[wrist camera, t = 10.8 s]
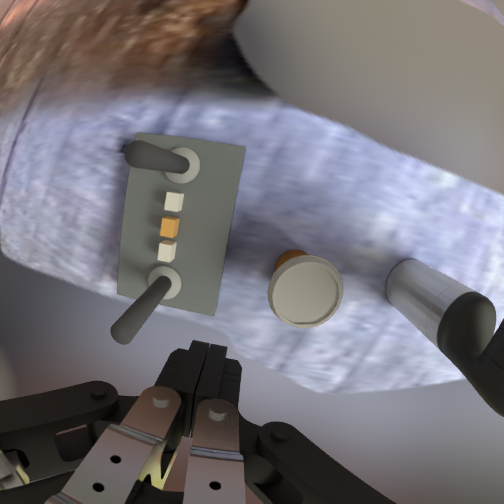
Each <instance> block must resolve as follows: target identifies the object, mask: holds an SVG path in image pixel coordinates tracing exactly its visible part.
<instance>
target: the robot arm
mask: <svg viewBox="0 0 504 504" xmlns="http://www.w3.org/2000/svg"><path fill="white" fill-rule="evenodd" d="M386 295H387V298H388V300H389V302H390V303H391V304H392V305H393V306H394V307H395V308H396V309H397V310H398V311H400V313H402V314H403V315H404V316H405V317H406V318H407V319H408V320H409V321H410V322H411V323H412V324H413V325H414V326H415V327H416V328H417V329H418V330H420V331H421V332H422V333H423V334H424V335H425V336H426V337H427V338H428V339H429V340H430V341H431V342H432V343H433V344H434V345H435V346H436V347H437V348H438V349H439V350H440V351H441V352H442V353H443V354H444V355H445V356H446V357H447V358H448V359H449V360H450V361H451V362H452V363H453V364H454V365H455V366H456V367H457V368H458V369H459V370H460V371H461V372H462V374H463V375H464V376H465V377H466V378H467V379H468V381H469V382H470V383H471V384H472V386H473V387H474V388H475V390H476V391H477V392H478V393H479V395H480V396H481V397H482V398H483V399H484V400H485V402H486V403H487V404H488V405H489V406H490V407H491V408H492V409H493V410H494V411H495V412H497V413H498V414H499V415H501V416H503V417H504V319H503V321H502V322H501V324H500V326H499V328H498V329H497V331H496V332H495V334H494V330H495V325H496V311H495V307H494V305H493V303H492V302H491V301H490V300H489V299H488V298H487V297H485V296H483V295H482V294H480V293H478V292H476V291H475V290H473V289H471V288H469V287H467V286H465V285H463V284H462V283H460V282H458V281H456V280H454V279H452V278H451V277H449V276H447V275H445V274H443V273H441V272H439V271H437V270H436V269H434V268H432V267H430V266H428V265H426V264H424V263H422V262H420V261H418V260H415V259H408V260H405V261H403V262H401V263H399V264H398V265H397V266H395V268H394V269H393V270H392V271H391V273H390V275H389V277H388V279H387V283H386ZM493 334H494V335H493ZM209 347H210V348H209ZM226 353H227V347H226V346H220V345H215V344H211V345H210V343H205V342H201V341H196V340H193V341H192V343H191V345H190V348H189V350H185V349H180V348H178V349H177V350H175V351H174V352H172V353H171V354H170V356H169V358H168V360H167V362H166V364H165V365H164V367H163V369H162V371H161V373H160V375H159V377H158V379H157V381H156V383H155V385H154V386H153V387H149V388H147V389H145V390H144V391H143V392H142V394H141V395H140V396H121V395H118V392H117V390H116V388H115V387H114V386H112V385H111V384H109V383H107V382H103V381H90V382H86V383H83V384H78V385H74V386H70V387H66V388H62V389H57V390H53V391H48V392H44V393H39V394H34V395H29V396H24V397H19V398H14V399H8V400H3V401H0V504H245V486H244V481H245V483H246V485H247V486H248V487H249V488H250V489H251V490H252V492H253V493H254V494H255V495H256V496H257V497H258V498H259V499H260V500H261V501H262V502H263V503H264V504H396V503H395V502H393V501H391V500H390V499H388V498H387V497H385V496H384V495H382V494H381V493H379V492H378V491H376V490H375V489H374V488H372V487H371V486H369V485H368V484H366V483H365V482H364V481H362V480H361V479H359V478H358V477H357V476H355V475H354V474H353V473H351V472H350V471H348V470H347V469H346V468H344V467H343V466H342V465H340V464H339V463H338V462H337V461H335V460H334V459H333V458H331V457H330V456H329V455H328V454H326V453H325V452H324V451H323V450H321V449H320V448H319V447H318V446H316V445H315V444H314V443H313V442H311V441H310V440H309V439H308V438H306V437H305V436H304V435H303V434H302V433H301V432H299V431H298V430H297V429H296V428H294V427H293V426H292V425H290V424H287V423H284V422H269V423H266V424H264V425H263V426H262V427H261V426H258V425H256V424H253V423H251V422H249V421H247V420H246V419H244V418H243V417H242V416H241V414H240V413H239V410H238V402H239V392H240V382H241V372H242V367H241V365H240V363H239V362H238V360H234V359H228V358H226ZM84 424H86V427H84V428H80V429H77V430H73V431H70V432H66V433H63V434H59V435H56V434H57V433H58V432H60V431H64V430H67V429H71V428H75V427H78V426H81V425H84ZM191 427H192V428H191ZM190 431H191V438H192V445H191V450H190V455H189V462H188V469H187V477H186V485H185V492H171V491H163V490H162V489H163V486H164V483H165V480H166V478H167V476H168V473H169V471H170V469H171V466H172V464H173V462H174V459H175V457H176V454H177V452H178V446H179V444H180V442H181V438H182V436H185V437H189V435H190ZM76 468H77V470H75V471H70V470H73V469H76ZM67 471H69V472H67ZM63 472H65V473H63ZM60 473H62V474H60ZM56 474H59V475H56ZM53 475H56V476H53ZM49 476H53V477H50V478H46V479H43V480H40V481H36V482H33V483H29V481H33V480H37V479H41V478H45V477H49Z"/></svg>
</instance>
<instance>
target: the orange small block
mask: <svg viewBox="0 0 504 504" xmlns="http://www.w3.org/2000/svg"><path fill="white" fill-rule="evenodd" d="M179 219H180V218H176V217H170V216H166V217H164V218H162V223H161V231H160V236H164V237H169V238H173V237H175V236H176V235H177V233H178V226H179Z"/></svg>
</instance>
